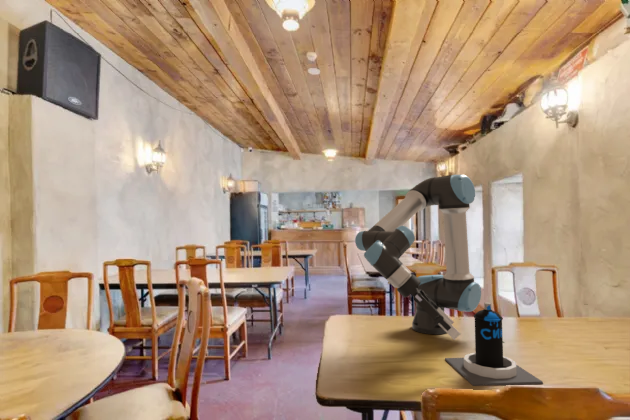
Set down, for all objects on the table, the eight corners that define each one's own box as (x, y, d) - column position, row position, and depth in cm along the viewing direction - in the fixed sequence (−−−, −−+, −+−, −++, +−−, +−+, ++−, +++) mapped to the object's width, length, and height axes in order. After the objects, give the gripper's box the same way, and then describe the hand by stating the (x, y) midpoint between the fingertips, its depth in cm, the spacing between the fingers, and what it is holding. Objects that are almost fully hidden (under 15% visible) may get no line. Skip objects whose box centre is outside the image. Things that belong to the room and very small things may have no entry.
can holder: (473, 385, 104) (472, 374, 104) (445, 359, 124) (444, 350, 124) (542, 383, 105) (542, 372, 105) (503, 358, 125) (503, 349, 125)
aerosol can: (469, 364, 118) (468, 300, 119) (494, 363, 119) (492, 300, 120) (483, 374, 110) (481, 306, 111) (510, 373, 111) (508, 305, 112)
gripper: (395, 283, 134) (440, 327, 130) (395, 296, 109) (450, 351, 106) (410, 268, 133) (456, 313, 129) (414, 278, 108) (470, 333, 105)
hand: (454, 330), depth 117 cm, fingers open, 13 cm apart
